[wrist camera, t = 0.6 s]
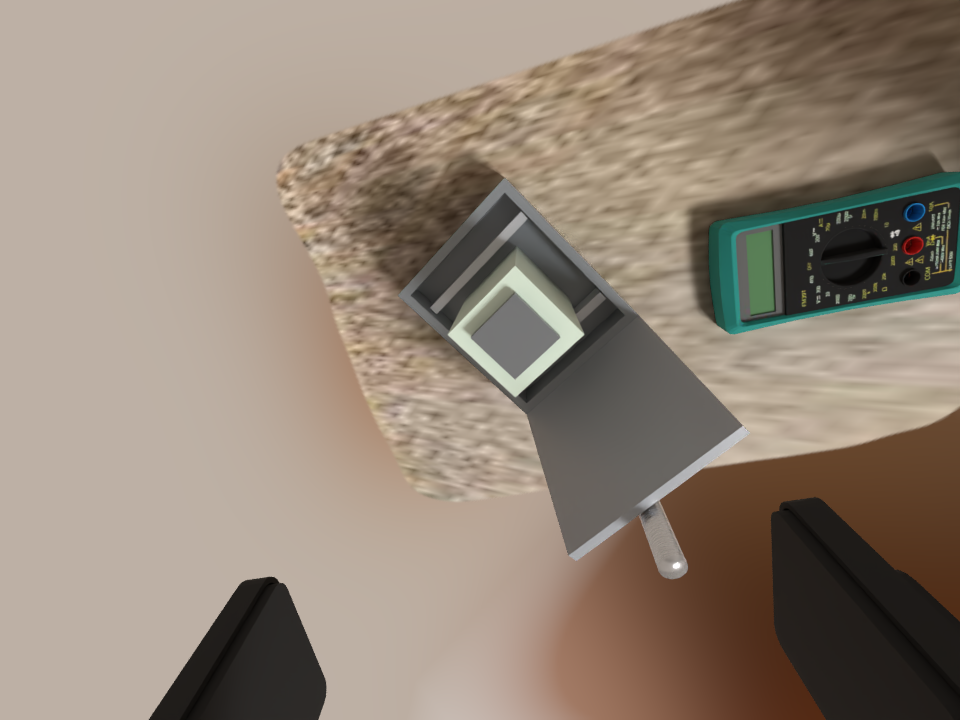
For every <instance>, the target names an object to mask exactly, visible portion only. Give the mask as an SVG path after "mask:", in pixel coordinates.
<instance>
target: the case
mask: <svg viewBox="0 0 960 720" xmlns="http://www.w3.org/2000/svg"><path fill="white" fill-rule="evenodd" d="M516 246H517V247H518V248H519V249H520V250H521V251H522V252H523V253H524V254H525V255H526V256H527V257H528V258H529V259H530V260H531V261H532V262H533V263H534V264H535V265H536V266H537V267H538V268H539V269H540V270H541V271H542V272H543V273H544V274H545V275H546V276H547V277H548V278H549V279H550V280H551V281H552V282H553V283H554V284H555V285H556V286H557V287H558V288H559V289H560V290H561V291H562V292H563V293H564V294H565V295H566V296H567V297H568V298H569V300H570V302H571V304H572V307H573V309H574V311H575V313H576V316H577V318H578V320H579V323H580V325H581V327H582V330H583V332H584V334H585V335H584V336H582V337H581V338H580V339H579V340H578V341H577V342H576V343H575V344H574V345H573V346H571V347H570V348H569V349H568V350H567V351H566V352H565V353H564V354H563V355H562V356H560V357H559V358H558V359H557V360H556V361H555V362H554V363H553V364H552V365H551V366H549V367H548V368H547V369H546V370H545V371H544V372H543V373H542V374H541V375H540V376H538V377H537V378H536V379H535V380H534V381H533V382H532V383H531V384H530V385H529V386H527V387H526V388H525V389H524V390H523V391H522V392H521V393H520V394H519V395H518V396H516V397H514V396H513V395H512V394H511V393H510V392H509V391H508V390H507V389H506V388H504V387H503V386H502V385H501V384H500V383H499V382H498V381H497V380H496V379H495V378H494V377H493V376H492V375H490V374H489V373H488V372H487V371H486V370H485V369H484V368H483V367H482V366H481V365H480V364H479V363H477V362H476V361H475V360H474V359H473V358H472V357H471V356H470V355H469V354H468V353H467V352H466V351H464V350H463V349H462V348H461V347H460V346H459V345H458V344H457V343H456V342H455V341H454V340H453V339H452V338H450V337H449V336H448V333H449V331H450V329H451V327H452V325H453V323H454V321H455V319H456V317H457V315H458V313H459V311H460V309H461V307H462V305H463V303H464V301H465V299H466V298H467V297H468V296H469V295H470V294H471V293H472V292H473V291H474V290H475V289H476V288H477V287H478V286H479V285H480V284H481V283H482V281H483V280H484V279H485V278H486V277H487V276H488V275H489V274H490V273H491V272H492V271H493V270H494V269H495V268H496V267H497V266H498V265H499V264H500V263H501V262H502V261H503V260H504V259H505V258H506V257H507V256H508V255H509V254H510V252H511V251H512V250H513V249H514V248H515V247H516ZM398 296H399V297H400V298H401V299H402V300H403V301H404V302H405V303H406V304H407V305H409V306H410V307H411V308H412V309H413V310H414V311H415V312H416V313H417V314H418V315H419V316H420V317H422V318H423V319H424V320H425V321H426V322H427V323H428V324H429V325H430V326H431V327H432V328H434V329H435V330H436V331H437V332H438V333H439V334H440V335H441V336H442V337H443V338H444V339H445V340H447V341H448V342H449V343H450V344H451V345H452V346H453V347H454V348H455V349H456V350H457V351H458V352H460V353H461V354H462V355H463V356H464V357H465V358H466V359H467V360H468V361H469V362H470V363H471V364H473V365H474V366H475V367H476V368H477V369H478V370H479V371H480V372H481V373H482V374H483V375H484V376H486V377H487V378H488V379H489V380H490V381H491V382H492V383H493V384H494V385H495V386H496V387H498V388H499V389H500V390H501V391H502V392H503V393H504V394H505V395H506V396H507V397H508V398H509V399H511V400H512V401H513V402H514V403H515V404H516V405H517V406H518V407H519V408H520V409H521V410H522V411H524V412H525V413H526V414H528V413H529V412H530V411H531V410H532V409H534V408H535V407H536V406H537V405H538V404H539V403H540V402H541V401H543V400H544V399H545V398H546V397H547V396H548V395H549V394H550V393H552V392H553V391H554V390H555V389H556V388H557V387H558V386H559V385H561V384H562V383H563V382H564V381H565V380H566V379H567V378H569V377H570V376H571V375H572V374H573V373H574V372H575V371H576V370H578V369H579V368H580V367H581V366H582V365H583V364H584V363H585V362H587V361H588V360H589V359H590V358H591V357H592V356H593V355H594V354H596V353H597V352H598V351H599V350H600V349H601V348H602V347H603V346H605V345H606V344H607V343H608V342H609V341H610V340H611V339H612V338H614V337H615V336H616V335H617V334H618V333H619V332H620V331H622V330H623V329H624V328H625V327H626V326H627V325H628V324H629V323H631V322H632V321H633V320H634V319H635V318H636V317H637V316H638V314H637V313H636V312H635V311H634V310H633V309H632V308H631V307H630V305H629V304H628V303H627V302H626V301H625V300H624V299H623V298H622V297H621V296H620V295H619V294H618V293H617V292H616V291H615V290H614V289H613V288H612V287H611V286H610V285H609V284H608V283H607V282H606V281H605V280H604V279H603V278H602V277H601V276H600V275H599V274H598V273H597V272H596V270H595V269H594V268H593V267H592V266H591V265H590V264H589V263H588V262H587V261H586V260H585V259H584V258H583V257H582V256H581V255H580V254H579V253H578V252H577V251H576V250H575V249H574V248H573V247H572V246H571V245H570V244H569V243H568V242H567V241H566V240H565V239H564V238H563V237H562V236H561V235H560V233H559V232H558V231H557V230H556V229H555V228H554V227H553V226H552V225H551V224H550V223H549V222H548V221H547V220H546V219H545V218H544V217H543V216H542V215H541V214H540V213H539V212H538V211H537V210H536V209H535V208H534V207H533V206H532V205H531V204H530V203H529V202H528V201H527V200H526V199H525V197H524V196H523V195H522V194H521V193H520V192H519V191H518V190H517V189H516V188H515V187H514V186H513V185H512V184H511V183H510V182H509V181H508V180H507V179H506V178H504V179H503V180H502V181H501V182H500V183H499V184H498V185H497V187H496V188H495V189H494V190H493V191H492V192H491V193H490V194H489V195H488V196H487V198H486V199H485V200H484V201H483V202H482V203H481V204H480V205H479V206H478V207H477V209H476V210H475V211H474V212H473V213H472V214H471V215H470V216H469V217H468V219H467V220H466V221H465V222H464V223H463V224H462V225H461V226H460V227H459V228H458V230H457V231H456V232H455V233H454V234H453V235H452V236H451V237H450V238H449V239H448V241H447V242H446V243H445V244H444V245H443V246H442V247H441V248H440V249H439V251H438V252H437V253H436V254H435V255H434V256H433V257H432V258H431V259H430V260H429V262H428V263H427V264H426V265H425V266H424V267H423V268H422V269H421V270H420V272H419V273H418V274H417V275H416V276H415V277H414V278H413V279H412V280H411V281H410V283H409V284H408V285H407V286H406V287H405V288H404V289H403V290H402V291H401V292H400V294H399V295H398Z"/></svg>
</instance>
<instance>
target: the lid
mask: <svg viewBox="0 0 960 720" xmlns="http://www.w3.org/2000/svg"><path fill="white" fill-rule="evenodd" d="M527 417H528V420H529V424H530V427H531V430H532V434H533V437H534V441H535V444H536V447H537V451H538V454H539V458H540V461H541V464H542V468H543V471H544V474H545V478H546V481H547V485H548V488H549V491H550V494H551V498H552V501H553V505H554V508H555V511H556V515H557V518H558V522H559V525H560V528H561V532H562V535H563V539H564V542H565V545H566V549H567V552H568V555H569V556H570V557H572V558H573V559H574V560H576V561H577V560H578V559H580V558H581V557H582V556H583V555H585V554H586V553H588V552H589V551H590V550H592V549H593V548H595V547H596V546H597V545H599V544H600V543H601V542H603V541H604V540H605V539H607V538H608V537H609V536H611V535H612V534H614V533H615V532H616V531H618V530H619V529H620V528H622V527H623V526H625V525H626V524H627V523H629V522H630V521H631V520H633V519H634V518H635V517H637V516H638V515H640V514H641V513H642V512H644V511H645V510H646V509H648V508H649V507H650V506H652V505H653V504H655V503H656V502H657V501H659V500H660V499H661V498H663V497H664V496H665V495H667V494H668V493H670V492H671V491H672V490H673V489H675V488H676V487H678V486H679V485H680V484H682V483H683V482H684V481H686V480H687V479H689V478H690V477H691V476H693V475H694V474H695V473H697V472H698V471H699V470H701V469H702V468H704V467H705V466H706V465H708V464H709V463H710V462H712V461H713V460H714V459H716V458H717V457H719V456H720V455H721V454H723V453H724V452H725V451H727V450H728V449H729V448H731V447H732V446H733V445H735V444H736V443H738V442H739V441H740V440H742V439H743V438H744V437H746V436H747V435H748V434H750V433H749V432H748V430H747V429H746V428H745V427H744V426H743V425H742V424H741V423H740V422H739V421H738V420H737V419H736V418H735V417H734V416H733V415H732V414H731V412H730V411H729V410H728V409H727V408H726V407H725V406H724V405H723V404H722V403H721V402H720V401H719V400H718V399H717V398H716V397H715V396H714V394H713V393H712V392H711V391H710V390H709V389H708V388H707V387H706V386H705V385H704V384H703V383H702V382H701V381H700V380H699V379H698V378H697V376H696V375H695V374H694V373H693V372H692V371H691V370H690V369H689V368H688V367H687V366H686V365H685V364H684V363H683V362H682V361H681V360H680V358H679V357H678V356H677V355H676V354H675V353H674V352H673V351H672V350H671V349H670V348H669V347H668V346H667V345H666V344H665V343H664V342H663V340H662V339H661V338H660V337H659V336H658V335H657V334H656V333H655V332H654V331H653V330H652V329H651V328H650V327H649V326H648V325H647V324H646V322H645V321H644V320H643V319H642V318H641V317H640V316H639V315H638V316H637V317H636V318H635V319H634V320H633V321H632V322H631V323H629V324H628V325H627V326H626V327H625V328H624V329H623V330H622V331H620V332H619V333H618V334H617V335H616V336H615V337H614V338H612V339H611V340H610V341H609V342H608V343H607V344H606V345H605V346H603V347H602V348H601V349H600V350H599V351H598V352H597V353H596V354H594V355H593V356H592V357H591V358H590V359H589V360H588V361H587V362H585V363H584V364H583V365H582V366H581V367H580V368H579V369H578V370H576V371H575V372H574V373H573V374H572V375H571V376H570V377H569V378H567V379H566V380H565V381H564V382H563V383H562V384H561V385H559V386H558V387H557V388H556V389H555V390H554V391H553V392H552V393H550V394H549V395H548V396H547V397H546V398H545V399H544V400H543V401H541V402H540V403H539V404H538V405H537V406H536V407H535V408H534V409H532V410H531V411H530V412H529V413H528V414H527Z"/></svg>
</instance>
